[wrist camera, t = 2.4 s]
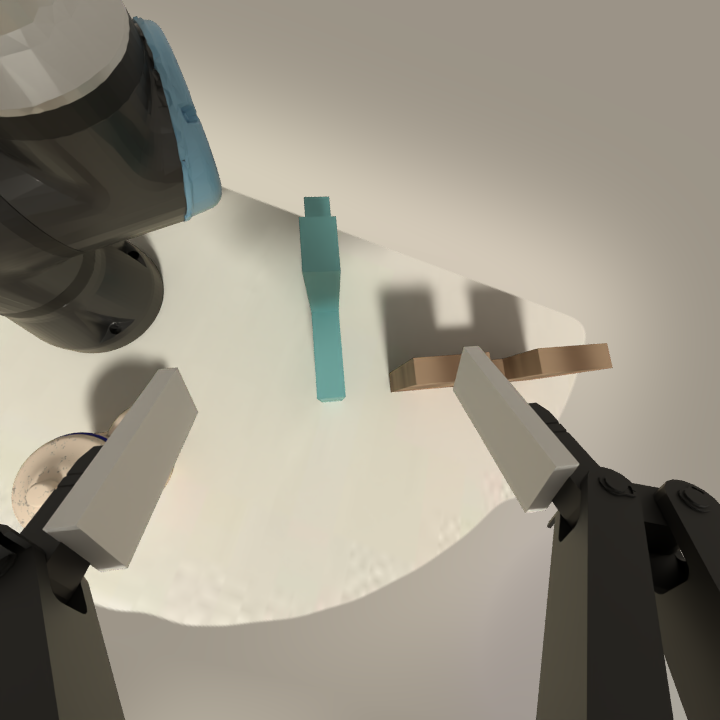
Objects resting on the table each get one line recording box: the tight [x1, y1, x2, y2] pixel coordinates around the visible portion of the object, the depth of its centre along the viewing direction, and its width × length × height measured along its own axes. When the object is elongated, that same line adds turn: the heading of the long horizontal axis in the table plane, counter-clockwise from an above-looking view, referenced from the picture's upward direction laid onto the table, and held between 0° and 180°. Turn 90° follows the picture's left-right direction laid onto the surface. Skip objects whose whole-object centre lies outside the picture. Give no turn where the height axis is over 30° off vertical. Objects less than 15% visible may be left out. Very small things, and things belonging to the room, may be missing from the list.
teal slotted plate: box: [299, 197, 346, 402], centre depth 29 cm, size 20×2×20 cm, turn 5°
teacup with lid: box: [12, 408, 173, 528], centre depth 29 cm, size 12×9×12 cm
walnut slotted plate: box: [389, 343, 612, 392], centre depth 34 cm, size 20×2×12 cm, turn 95°
